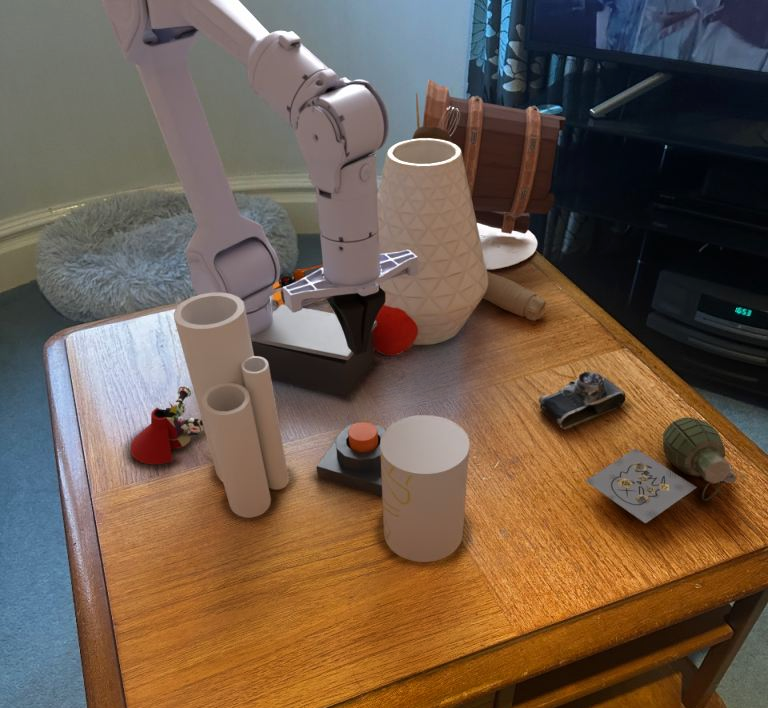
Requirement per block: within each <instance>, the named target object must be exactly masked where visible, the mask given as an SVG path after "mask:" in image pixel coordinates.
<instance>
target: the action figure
mask: <svg viewBox="0 0 768 708" xmlns="http://www.w3.org/2000/svg"><path fill="white" fill-rule="evenodd" d="M176 393H177V394H178V395H179V396H178V398H177V399H176V400H175V402H174V404H172V403H171V402H169V401H168V403H169V405H170V407H166V408H165V409H162V408H159V407H156V408H154V409H153V410H152V411H151V412H150V413H151V415H150V423H149V425H147V426H146V427H145V428H144V429H143V430H142V431H140V432H139V433H138V434H137V435H136V436H135V437H134V439H133V440H132V442H131V443H130V452H131V454H132V457H133V458H134V459H135V460H137V461H138V462H141V463H143V464H146V465H160V464H168V463H171V462H173V455H172V450H176V449H180V448H183V447H185V446H186V445H188V444H189V443H190V442H191V440H192V436H199V435H200V434H201V433H202V432H203V431H204V426H203V422H202V419H200V418H195V417H190V418H189V419H185V418H182V416H183V414H184V413H186V410H187V408H186V403H185V402H184V401H185V400H186V399H187V398H189V397H191V395H192V391H191V389H190V388H189V387H188V386H180V387H179V388H178V390H177V392H176Z"/></svg>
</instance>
